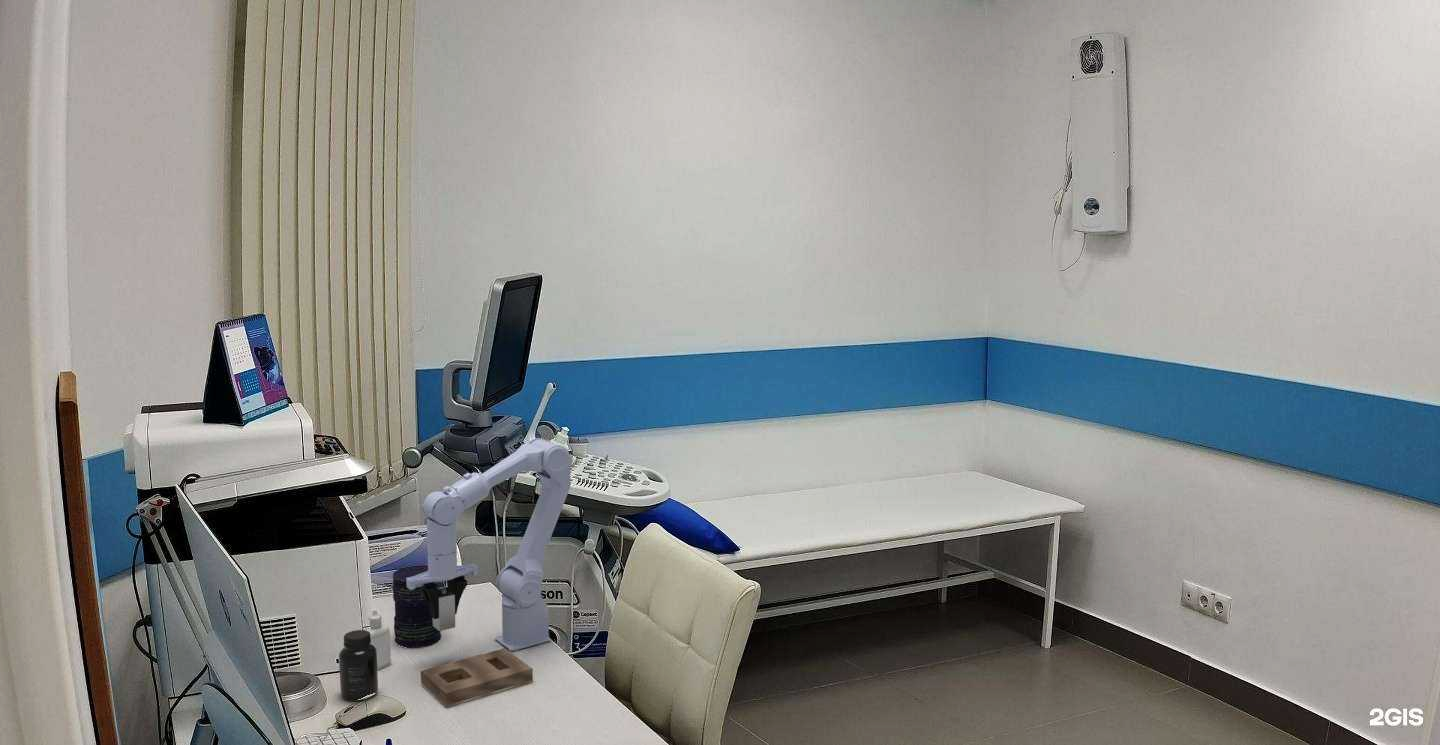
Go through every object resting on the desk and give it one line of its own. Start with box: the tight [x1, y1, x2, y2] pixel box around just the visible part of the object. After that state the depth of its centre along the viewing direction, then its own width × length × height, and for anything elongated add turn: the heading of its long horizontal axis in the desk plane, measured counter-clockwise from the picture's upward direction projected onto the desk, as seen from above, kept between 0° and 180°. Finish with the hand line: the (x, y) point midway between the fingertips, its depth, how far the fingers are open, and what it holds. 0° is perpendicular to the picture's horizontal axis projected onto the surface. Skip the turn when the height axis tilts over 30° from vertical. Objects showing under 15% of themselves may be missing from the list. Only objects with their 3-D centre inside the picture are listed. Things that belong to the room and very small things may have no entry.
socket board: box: [420, 647, 534, 709], centre depth 203 cm, size 18×12×3 cm, turn 128°
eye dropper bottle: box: [368, 608, 392, 671], centre depth 209 cm, size 4×6×12 cm
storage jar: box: [392, 564, 442, 649], centre depth 222 cm, size 10×10×15 cm
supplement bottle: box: [338, 629, 379, 702], centre depth 197 cm, size 7×7×12 cm
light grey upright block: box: [433, 586, 456, 632], centre depth 211 cm, size 3×3×8 cm
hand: (443, 615), depth 211 cm, fingers closed on light grey upright block, 3 cm apart
